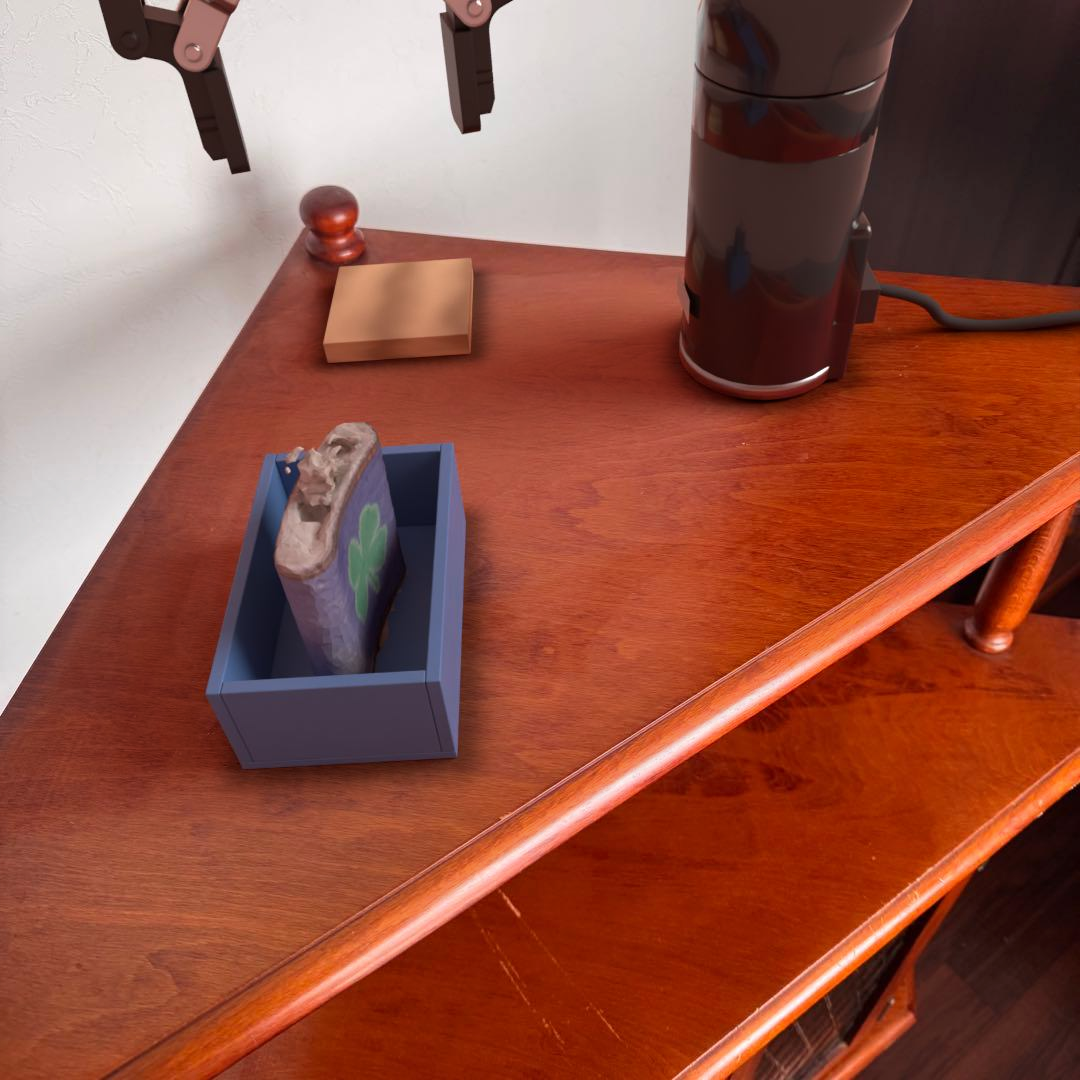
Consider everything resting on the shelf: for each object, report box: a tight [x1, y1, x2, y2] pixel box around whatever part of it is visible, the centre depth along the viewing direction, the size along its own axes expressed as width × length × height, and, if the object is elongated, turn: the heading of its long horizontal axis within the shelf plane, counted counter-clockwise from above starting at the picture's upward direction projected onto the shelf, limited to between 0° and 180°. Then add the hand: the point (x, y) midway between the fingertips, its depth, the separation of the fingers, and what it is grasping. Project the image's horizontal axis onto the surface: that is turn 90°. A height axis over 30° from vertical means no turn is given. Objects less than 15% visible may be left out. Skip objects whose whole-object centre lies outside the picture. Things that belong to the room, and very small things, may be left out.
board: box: [322, 257, 474, 364], centre depth 66 cm, size 9×9×2 cm
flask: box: [273, 421, 408, 677], centre depth 44 cm, size 9×3×11 cm, turn 172°
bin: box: [204, 441, 467, 770], centre depth 46 cm, size 9×14×6 cm, turn 1°
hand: (355, 144), depth 38 cm, fingers open, 8 cm apart
